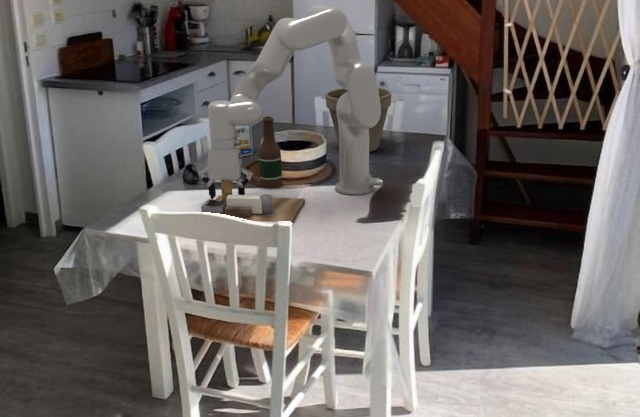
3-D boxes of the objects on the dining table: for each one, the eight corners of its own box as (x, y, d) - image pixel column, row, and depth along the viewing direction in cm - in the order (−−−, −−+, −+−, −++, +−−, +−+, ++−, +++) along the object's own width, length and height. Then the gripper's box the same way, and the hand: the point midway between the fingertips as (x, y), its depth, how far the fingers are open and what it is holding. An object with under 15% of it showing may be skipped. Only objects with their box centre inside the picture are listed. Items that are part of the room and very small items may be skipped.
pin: (234, 201, 228) (232, 177, 226) (231, 205, 226) (229, 180, 223) (224, 201, 229) (222, 176, 226) (221, 205, 226) (219, 180, 223)
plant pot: (316, 144, 293) (315, 89, 286) (372, 136, 302) (372, 83, 294) (342, 160, 272) (341, 102, 264) (402, 152, 280) (403, 95, 273)
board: (304, 203, 230) (304, 191, 229) (291, 227, 212) (290, 214, 210) (219, 199, 235) (218, 187, 234) (198, 223, 217) (197, 210, 215)
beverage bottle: (257, 152, 284) (254, 100, 277) (244, 158, 278) (240, 105, 271) (240, 149, 289) (237, 98, 282) (226, 155, 282) (222, 103, 275)
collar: (229, 208, 224) (229, 200, 223) (223, 215, 217) (222, 207, 217) (208, 207, 225) (208, 199, 224) (201, 214, 219) (201, 206, 218)
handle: (273, 210, 220) (273, 194, 218) (271, 214, 216) (270, 198, 215) (230, 208, 222) (229, 193, 220) (226, 212, 218) (225, 197, 217)
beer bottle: (265, 194, 239) (261, 121, 230) (255, 187, 245) (251, 116, 237) (287, 190, 242) (284, 118, 234) (277, 183, 249) (274, 113, 240)
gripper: (255, 140, 222) (258, 195, 229) (199, 138, 226) (203, 193, 232) (248, 147, 216) (251, 203, 222) (191, 145, 219) (195, 201, 225)
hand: (227, 198), depth 227 cm, fingers open, 8 cm apart
